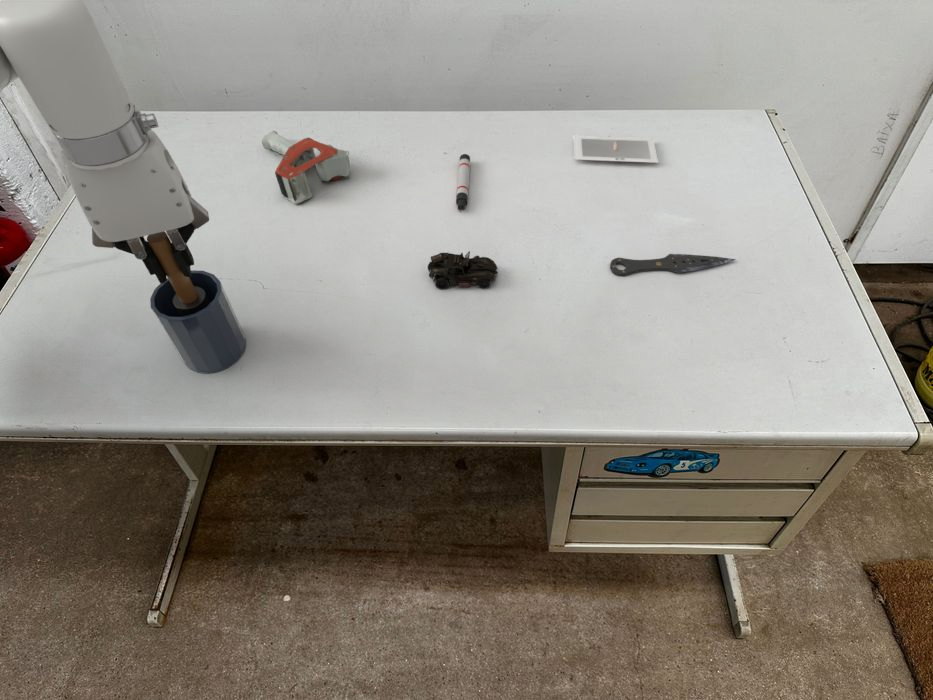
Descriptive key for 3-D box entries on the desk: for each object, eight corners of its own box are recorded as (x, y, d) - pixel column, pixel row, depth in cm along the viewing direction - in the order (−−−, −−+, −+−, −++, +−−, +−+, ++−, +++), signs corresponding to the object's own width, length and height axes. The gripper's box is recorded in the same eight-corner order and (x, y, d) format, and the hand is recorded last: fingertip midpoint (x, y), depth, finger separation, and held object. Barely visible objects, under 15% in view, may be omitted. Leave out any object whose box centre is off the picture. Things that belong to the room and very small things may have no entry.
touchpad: (572, 140, 117) (574, 130, 115) (651, 143, 116) (654, 133, 114) (573, 164, 112) (575, 154, 110) (656, 167, 111) (659, 157, 109)
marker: (459, 163, 112) (459, 153, 111) (470, 163, 112) (470, 153, 111) (455, 216, 103) (454, 206, 101) (466, 216, 103) (466, 207, 101)
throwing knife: (607, 259, 96) (607, 256, 95) (731, 251, 97) (732, 248, 96) (613, 278, 93) (614, 275, 92) (740, 270, 94) (742, 267, 93)
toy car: (430, 261, 96) (429, 239, 92) (506, 264, 95) (508, 243, 92) (425, 289, 92) (424, 267, 89) (505, 293, 91) (506, 272, 88)
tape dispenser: (270, 149, 118) (248, 208, 105) (261, 123, 114) (238, 181, 101) (360, 142, 118) (350, 201, 104) (354, 116, 114) (343, 173, 100)
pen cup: (185, 381, 82) (151, 327, 73) (180, 335, 87) (148, 280, 78) (250, 363, 83) (224, 308, 75) (242, 319, 88) (217, 263, 80)
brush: (188, 338, 79) (138, 251, 68) (186, 316, 82) (137, 229, 70) (219, 330, 80) (176, 243, 68) (216, 309, 82) (173, 221, 71)
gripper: (184, 100, 63) (238, 237, 77) (16, 132, 60) (105, 268, 74) (190, 138, 59) (246, 276, 73) (8, 174, 55) (105, 311, 70)
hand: (175, 271), depth 73 cm, fingers closed on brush, 2 cm apart
